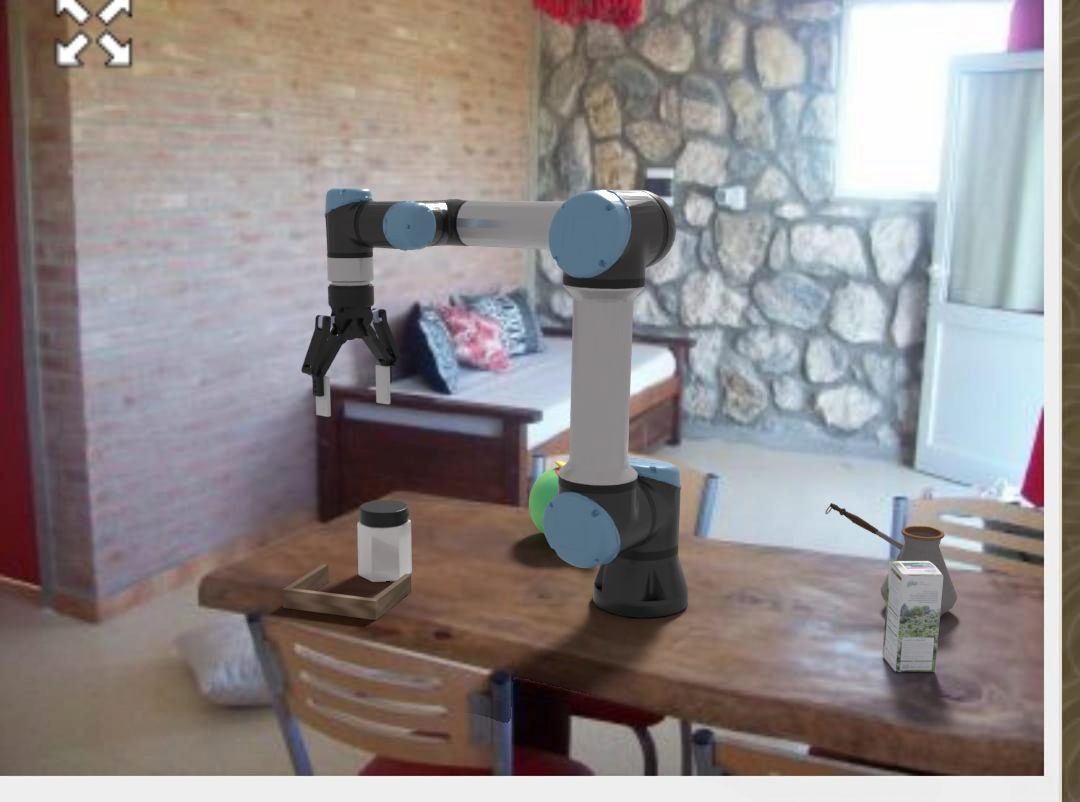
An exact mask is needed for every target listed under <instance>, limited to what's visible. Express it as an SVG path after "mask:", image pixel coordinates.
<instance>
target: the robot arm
mask: <svg viewBox="0 0 1080 802" xmlns="http://www.w3.org/2000/svg"><path fill="white" fill-rule="evenodd" d="M324 207H325V211H324V218H325V219H324V220H325V231H326V232H325V233H326V258H327V259H326V263H327V265H326V266H327V268H326V269H327V280H328V281H329V282H331V283H330V284H329V285H328V286H327V301H328V302H327V304H328V307H330V310H331V313H330V315H324V314H323V315H322V314H317V315H316V316H315V319H314V320H315V323H314V331H313V332H312V337H311V339H310V343H309V344H308V348H307V351H306V354H305V357H304V361H303V363H302V367H301V369H300V370H301V373H302V374H306V375H308V376H311V378H312V381H311V382H312V383H311V384H312V394H313V397H315V412H316V413H315V414H316V416H322V417H326V418H329V417H332V412H331V411H332V409H331V406H332V405H331V379H330V378H331V377H330V376H326V375H327V372H328V371H329V369H330V368H331V366H332V364H333V362H334V360H335V358H336V357H337V355H338V353H339V352H340V350H341V348H342V346H343V345H344V344H346V343H347V341H353V340H355V339H359V340H360V339H361V340H362V341H363V342H364V344H365V345H366V346H367V348H368V349H369V350H370V352H371V353H372V355H373V356H374V358H375V359H376V360H377V362H378V363H379V364H377V365H375V396H376V397H375V398H376V399H375V401H376V403H377V404H382V405H383V404H384V405H390V404H392V403H391V384H392V383H393V368H392V367H396V366H397V364H398V362H397V361H400V360H401V359H402V354H401V351H400V350H399V347H398V345H397V343H396V340H395V337H394V335H393V332H392V331H391V330H392V329H391V327H390V325H389V323H388V315H387V309H384V308H375V307H374V308H372V307H373V306H374V304H375V286H374V285H373V284H372V283H371V282H373V281H374V277H375V276H374V249H375V248H378V249H389V250H391V249H392V250H400V251H404V252H405V251H415V250H418V251H419V250H423V249H425V248H428V247H429V248H431V247H440V246H444V247H447V246H451V247H452V246H453V247H460V246H461V247H482V248H483V247H484V248H485V247H486V248H507V249H527V250H528V249H529V250H530V249H531V250H549V251H550V254H551V257H552V259H553V260H555V261H556V266H557V267H558V268H559V269H560V270H562V287H563V288H564V289H565V290H566V291H567V293H569V294H570V295H571V297H572V330H571V332H572V333H571V334H572V335H571V336H572V337H571V338H572V339H571V371H570V372H571V374H570V379H571V381H570V408H569V409H570V411H569V412H570V414H569V417H570V418H569V454H568V455H569V457H568V458H569V459H568V461H567V462H566V464H565V465H564V466H563V467H561V468H560V470H559V473H558V495H556V496H554V497H553V498H552V500H551V501H550V502H549V503H548V504H547V506H546V508H545V510H544V514H543V529H544V533H545V534H544V533H543V534H544V536H545V539H546V541H547V543H548V545H549V547H550V548H551V549H554V551H555V553H556V555H557V556H558V557H559V558H560V559H561V560H562V561H564V562H566V563H567V564H568V565H571V566H574V567H576V568H581V569H591V568H592V569H593V568H596V567H598V566H599V569H598V572H597V574H596V578H595V579H594V583H593V587H592V601H593V604H594V605H595V606H597V607H598V608H599V609H601V610H603V611H605V612H608V613H611V614H614V615H619V616H623V617H628V618H629V617H632V618H659V617H661V618H662V617H667V616H670V615H674V614H678V613H680V612H681V611H683V610H684V609H686V608H687V607H688V605H689V588H688V587H689V586H688V585H687V580H686V577H685V573H684V571H683V567H682V565H681V561H680V557H679V545H680V543H679V539H680V513H681V512H680V510H681V491H682V485H681V471H680V469H679V468H678V466H677V465H675V464H674V463H671V462H668V461H664V460H659V459H653V458H652V459H651V458H643V457H633V456H631V457H630V456H629V437H630V436H629V432H630V408H631V407H630V405H631V384H632V383H631V378H632V377H631V375H632V374H631V373H632V347H633V327H634V326H633V324H634V323H633V321H634V300H635V299H636V297H637V296H638V295H639V294H640V293H641V292H643V290H645V287H646V286H645V284H646V269H648V268H651V267H653V266H655V265H656V264H658V263H660V262H661V261H662V260H663V259H664V258H666V256H667V255H668V253H670V251H671V249H672V248H673V245H674V243H675V240H676V234H677V226H676V225H677V224H676V218H675V216H674V213H673V211H672V209H671V207H670V206H669V204H668V203H667V202H666V201H665V200H664V199H663V198H662V197H661V196H659V195H657V194H655V192H654V193H653V192H652V191H648V190H643V189H602V188H600V189H591V190H589V191H582V192H579V193H577V194H574V195H572V196H571V197H569V198H568V199H566V201H554V200H553V201H546V200H545V201H544V200H543V201H540V200H539V201H538V200H536V201H535V200H534V201H533V200H481V199H480V200H475V199H473V200H472V199H471V200H464V199H459V198H452V199H451V198H449V199H439V200H402V201H401V200H398V201H397V200H395V201H394V200H388V201H386V200H384V201H381V200H380V201H379V200H378V201H376V200H373V198H372V191H371V190H370V189H369V188H358V187H357V188H356V187H355V188H354V187H353V188H351V187H346V188H345V187H343V188H342V187H341V188H337V187H336V188H330V189H329V190H327V192H326V193H325V206H324ZM371 324H372V325H373V326H372V325H371Z"/></svg>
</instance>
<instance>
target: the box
mask: <svg viewBox="0 0 1080 802" xmlns="http://www.w3.org/2000/svg"><path fill="white" fill-rule="evenodd" d="M329 577H330V575H329V564H326V563H322V564H320V565H319V566H317V567H316V568H314V569H313V570H311V571H309V572H307V574H305V575H303V576H301V577H299V578H298V579H297V580H295V581H294V582H291V583H290V584H289V585H287V586H285V587H284V588H282V608H283V609H291V610H297V611H298V610H299V611H304V612H305V611H306V612H313V613H321V614H329V615H333V616H334V615H336V616H342V617H349V618H359V619H363V620H371V621H377V620H378V619H380V618H381V617H382V616H383V615H385V614H386V613H387V612H389V610H391V609H392V608H393V607H395V606H396V605H397V604H399V602H401V601H402V600H403V599H405V598H406V597H407V596H409V595H410V594H411V593H412V573H410V574H404V575H403V576H402V577H400V578H399V579H398V580H396V581H393V582H392V583H391V584H390V585H388V586H387V587H385V588H384V589H383V590H382V591H381V592H379V593H377V595H375V596H374V597H373V598H370V597H363V596H356V595H349V594H340V593H334V592H333V593H332V592H324V591H317V590H319V589H320V588H322V587H323V586H324V584H325V585H326V584H328V583H329V582H330V579H329ZM327 582H328V583H327ZM410 592H411V593H410ZM409 593H410V594H409ZM406 595H407V596H406ZM405 596H406V597H405ZM404 597H405V598H404Z"/></svg>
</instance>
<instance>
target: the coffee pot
mask: <svg viewBox="0 0 1080 802" xmlns="http://www.w3.org/2000/svg"><path fill="white" fill-rule="evenodd" d="M832 510H834V511H837V512H838V513H839V515H840V516H844V517H846V518H847V519H848V520H849V521H850V522H852V523H853V524H855V525H857V526H859V527H860V528H862V529H864V530H865V531H868V532H870V533H872V534H874V535H876V536H878V537H879V538H881V539H883V540H884V541H886V542H888V544H891V545H892V546H894V547H895V548H896V549H898V550H900V552H899V553H898V555H897V557H896V558H895V560H894V561H929V562H931V563H932V564H933V565H935V566H936V567H937V569H938V570H939V571H940V572H941V573H942V575H943V588H942V599H941V610H940V618H941V617H942V616H944V614H945V613H947V612H948V611H950V610H951V609H953V607H954V605H955V604H956V602H957V601H958V595H957V592H956V589H955V586H954V583H953V581H952V579H951V576H950V573H949V570H948V567H947V565H946V562H945V559H944V556H943V553H942V551H941V547H940V545H941V541H942V539H944V537H945V533H944V531H942V530H941V529H938V528H935V527H932V526H926V525H924V526H923V525H911V526H904V527H902V528H901V530H900V533H901V534H902V535H903V538H904V543H902V542H900V541H898V540H896V539H895V538H893V537H891V536H889V535H887V534H885V533H884V532H882V531H881V530H879V529H878V528H876V526H875V527H874V525H872V524H870V523H869V522H868V521H866V520H864V519H863V518H861V517H860V516H858V515H856V514H853V513H851V512H849V511H847V510H846V508H845V507H843V508H841V507H840V506H839V505H837V504H835V503H830V504H829V506H828V507H827V509H825V512H824V513H825V515H828V514H829V513H830V512H831V511H832ZM887 587H888V574H887V575H886V577H885V579H884V581H883V583H882V585H881V586H880V594H881V597H882V599H883V600H884V601H885V603H886V601H887Z"/></svg>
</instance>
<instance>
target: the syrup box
mask: <svg viewBox="0 0 1080 802" xmlns="http://www.w3.org/2000/svg"><path fill="white" fill-rule="evenodd" d="M887 575H888V587H887V601H886V602H885V618H884V631H883V642H882V643H883V645H882V658H883V659H884V660H885V661H886V663H887V664H888V665H889V666H890V667H891V668H892V670H893V671H894V673H935V672H936V667H937V652H938V643H939V632H940V631H939V630H940V619H941V617H940V610H941V599H942V588H943V575H942V573H941V572H940V571H939V570H938V569H937V567H936V566H935V565H933V564H932V563H931V562H929V561H895V560H891V561H889V562H888V573H887Z"/></svg>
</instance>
